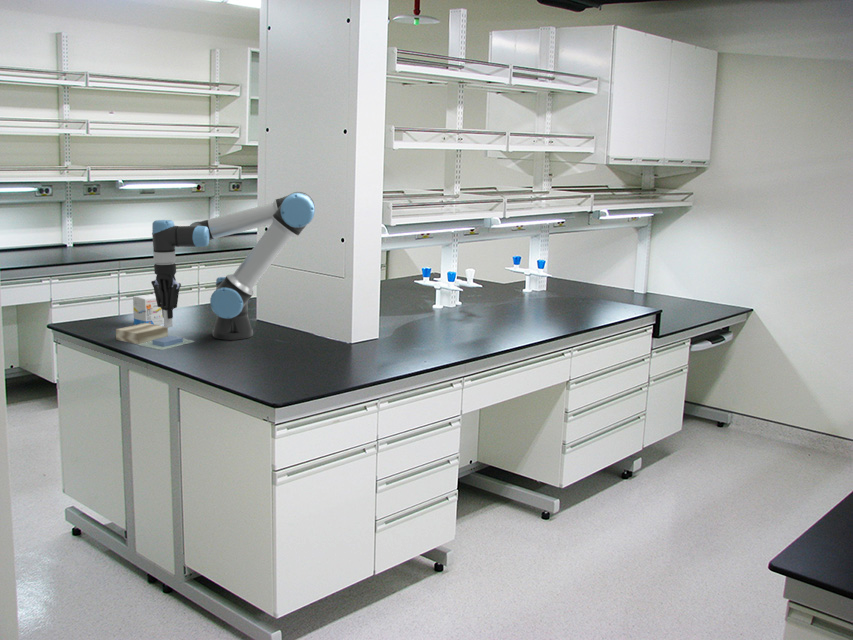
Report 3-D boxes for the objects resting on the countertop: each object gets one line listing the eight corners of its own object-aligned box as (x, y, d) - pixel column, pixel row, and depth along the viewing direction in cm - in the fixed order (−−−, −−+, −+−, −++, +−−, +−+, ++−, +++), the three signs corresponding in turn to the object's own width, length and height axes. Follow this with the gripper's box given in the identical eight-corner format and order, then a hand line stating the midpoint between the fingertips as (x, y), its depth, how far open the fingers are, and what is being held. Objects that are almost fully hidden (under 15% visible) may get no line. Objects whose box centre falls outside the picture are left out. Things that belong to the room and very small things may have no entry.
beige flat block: (168, 337, 308) (167, 327, 307) (138, 344, 296) (137, 333, 295) (146, 332, 314) (145, 322, 313) (116, 339, 302) (115, 329, 301)
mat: (194, 341, 302) (194, 341, 302) (161, 350, 289) (161, 349, 289) (171, 337, 308) (171, 336, 308) (138, 345, 294) (138, 344, 294)
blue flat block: (171, 335, 303) (171, 339, 303) (152, 340, 295) (152, 344, 295) (182, 337, 300) (183, 342, 300) (163, 342, 292) (164, 346, 292)
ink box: (145, 327, 322) (144, 298, 320) (133, 324, 327) (132, 296, 325) (164, 324, 329) (163, 296, 327) (151, 321, 334) (150, 293, 332)
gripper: (185, 263, 292) (188, 327, 297) (160, 260, 298) (163, 322, 303) (169, 265, 285) (173, 331, 290) (144, 262, 292) (147, 326, 297)
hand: (168, 326), depth 297 cm, fingers closed
